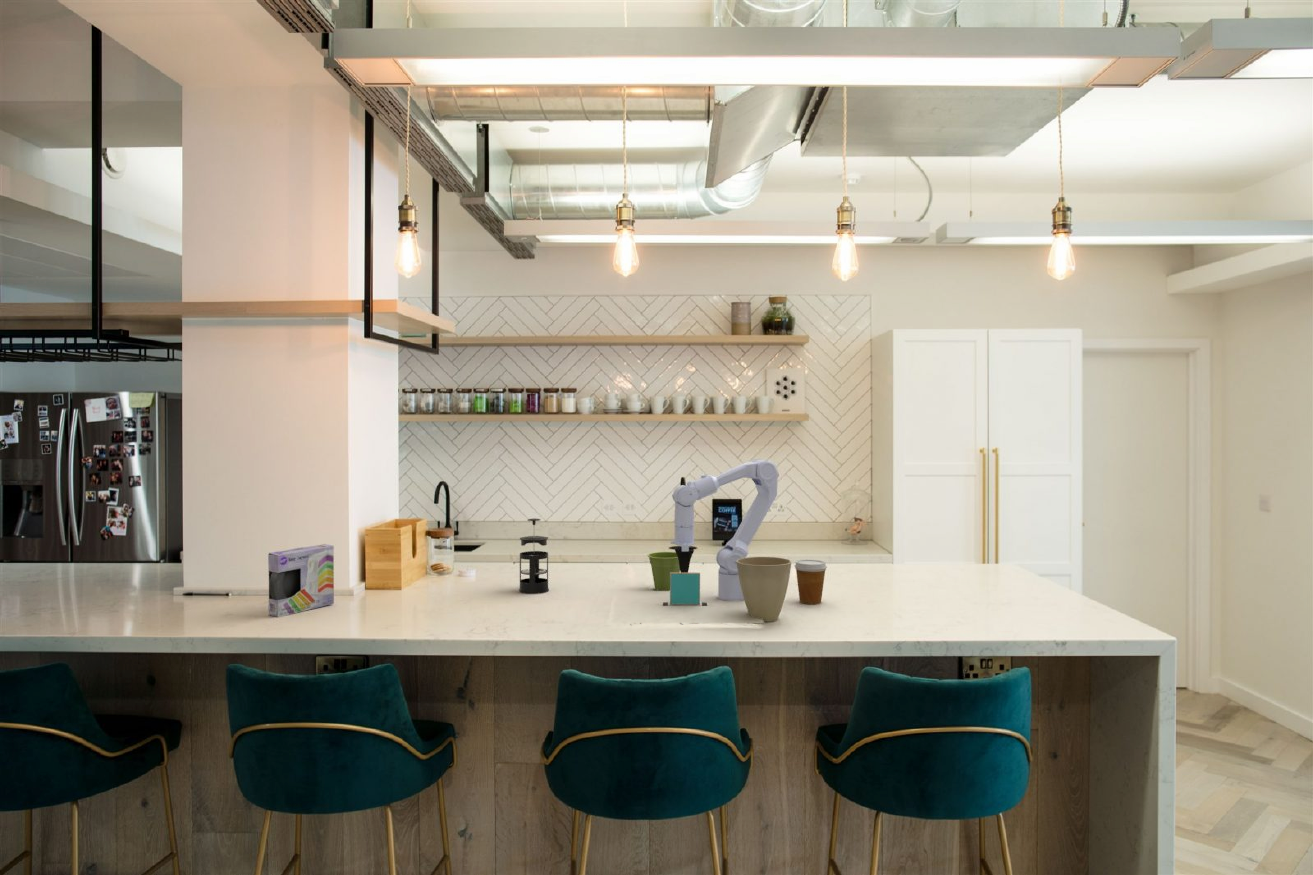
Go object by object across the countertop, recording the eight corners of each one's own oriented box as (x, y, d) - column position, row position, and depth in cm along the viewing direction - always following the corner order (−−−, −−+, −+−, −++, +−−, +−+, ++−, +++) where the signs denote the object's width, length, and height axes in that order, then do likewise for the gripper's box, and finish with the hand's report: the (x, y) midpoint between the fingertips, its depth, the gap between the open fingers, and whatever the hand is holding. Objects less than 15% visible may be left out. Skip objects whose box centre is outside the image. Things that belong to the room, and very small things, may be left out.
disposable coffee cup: (791, 603, 239) (791, 563, 238) (798, 597, 248) (798, 558, 247) (823, 606, 235) (823, 565, 235) (829, 600, 244) (829, 560, 244)
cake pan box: (274, 618, 219) (274, 553, 219) (263, 616, 221) (263, 552, 221) (335, 605, 235) (335, 544, 235) (324, 603, 238) (324, 543, 238)
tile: (699, 603, 232) (699, 572, 232) (700, 604, 231) (700, 573, 231) (669, 603, 232) (670, 572, 232) (670, 604, 231) (670, 573, 231)
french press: (547, 594, 251) (547, 520, 251) (516, 594, 251) (516, 520, 250) (550, 586, 263) (550, 516, 262) (521, 586, 262) (521, 516, 262)
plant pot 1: (645, 586, 264) (645, 552, 264) (681, 585, 266) (681, 551, 265) (649, 593, 252) (649, 557, 252) (686, 593, 254) (686, 557, 254)
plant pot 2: (780, 611, 229) (781, 555, 229) (798, 624, 214) (799, 564, 214) (729, 613, 226) (730, 556, 226) (744, 626, 212) (745, 566, 211)
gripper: (670, 523, 245) (669, 567, 245) (671, 529, 230) (671, 576, 231) (693, 523, 245) (693, 567, 245) (695, 529, 230) (695, 576, 231)
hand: (684, 572), depth 238 cm, fingers closed
